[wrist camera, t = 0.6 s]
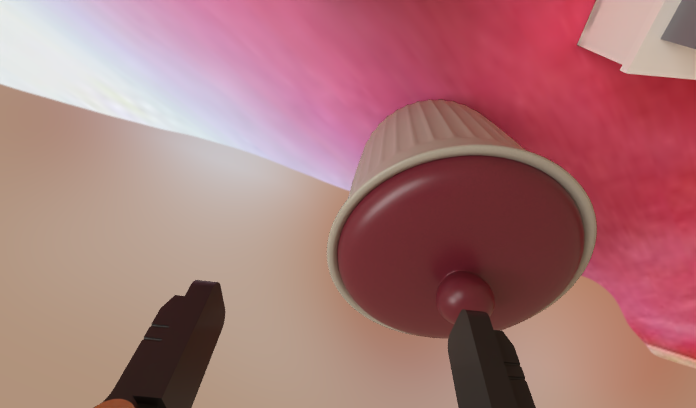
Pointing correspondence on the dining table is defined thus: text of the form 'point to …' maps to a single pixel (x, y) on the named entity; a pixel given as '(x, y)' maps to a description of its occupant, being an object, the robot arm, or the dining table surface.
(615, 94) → the dining table surface
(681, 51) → the lid
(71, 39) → the dining table surface
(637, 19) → the box
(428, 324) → the canister
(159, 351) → the robot arm
